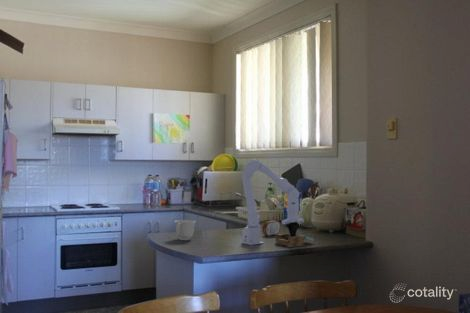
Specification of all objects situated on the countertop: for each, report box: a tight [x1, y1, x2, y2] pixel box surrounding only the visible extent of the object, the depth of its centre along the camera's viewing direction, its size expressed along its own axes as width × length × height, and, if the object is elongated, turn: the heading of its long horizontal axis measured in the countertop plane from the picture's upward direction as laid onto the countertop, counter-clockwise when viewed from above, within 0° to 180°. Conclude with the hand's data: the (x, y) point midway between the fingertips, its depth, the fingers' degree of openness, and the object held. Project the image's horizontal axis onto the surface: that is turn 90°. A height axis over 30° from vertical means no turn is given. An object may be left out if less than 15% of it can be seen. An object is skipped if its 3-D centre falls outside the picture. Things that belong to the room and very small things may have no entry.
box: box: [274, 232, 306, 248], centre depth 266 cm, size 12×10×5 cm
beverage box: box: [283, 191, 303, 226], centre depth 346 cm, size 7×11×22 cm, turn 71°
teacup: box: [173, 219, 197, 241], centre depth 277 cm, size 12×15×10 cm
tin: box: [261, 219, 281, 237], centre depth 299 cm, size 15×3×8 cm, turn 141°
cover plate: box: [288, 232, 314, 242], centre depth 271 cm, size 11×8×1 cm
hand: (292, 237), depth 267 cm, fingers closed
